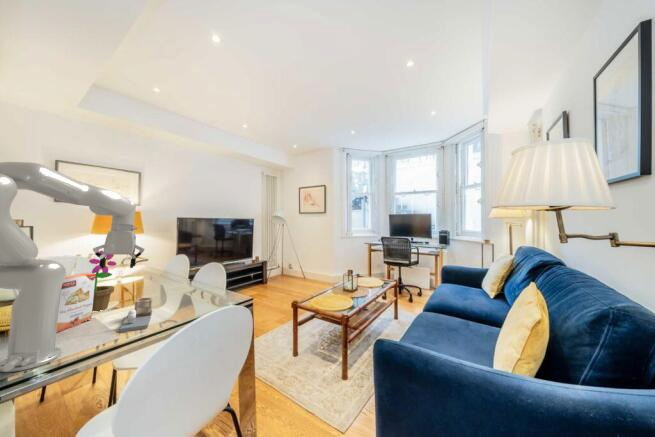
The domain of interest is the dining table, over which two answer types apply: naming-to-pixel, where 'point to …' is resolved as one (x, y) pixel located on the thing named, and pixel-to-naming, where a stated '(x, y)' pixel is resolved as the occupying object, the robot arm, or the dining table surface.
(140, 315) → the sleeve
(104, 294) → the flowerpot
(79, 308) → the cracker box
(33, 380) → the dining table surface
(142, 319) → the pin board
